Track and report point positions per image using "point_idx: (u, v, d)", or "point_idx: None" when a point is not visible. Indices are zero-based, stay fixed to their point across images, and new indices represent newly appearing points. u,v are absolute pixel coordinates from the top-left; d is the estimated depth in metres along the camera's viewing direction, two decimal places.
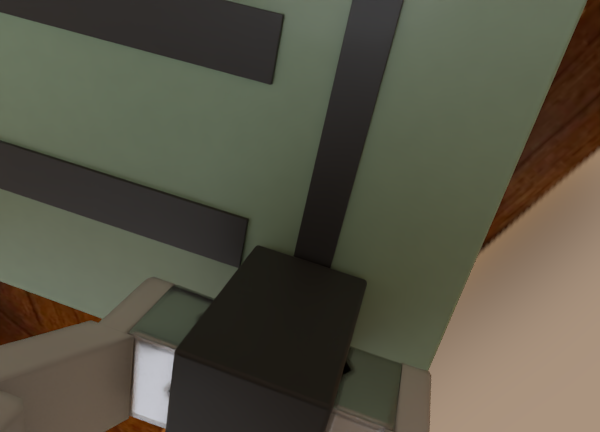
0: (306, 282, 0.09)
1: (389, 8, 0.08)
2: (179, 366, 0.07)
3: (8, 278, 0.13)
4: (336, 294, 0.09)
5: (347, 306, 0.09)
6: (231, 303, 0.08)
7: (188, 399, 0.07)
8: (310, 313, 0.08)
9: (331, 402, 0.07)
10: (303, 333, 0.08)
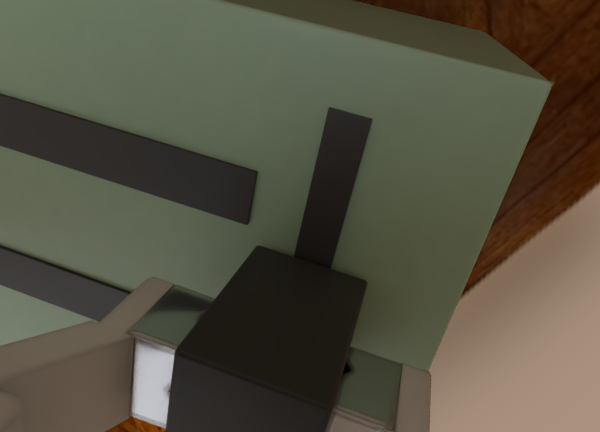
0: (306, 282, 0.09)
1: (346, 176, 0.09)
2: (179, 366, 0.07)
3: None
4: (336, 295, 0.09)
5: (347, 306, 0.09)
6: (231, 303, 0.08)
7: (188, 399, 0.07)
8: (310, 313, 0.08)
9: (331, 403, 0.07)
10: (303, 333, 0.08)
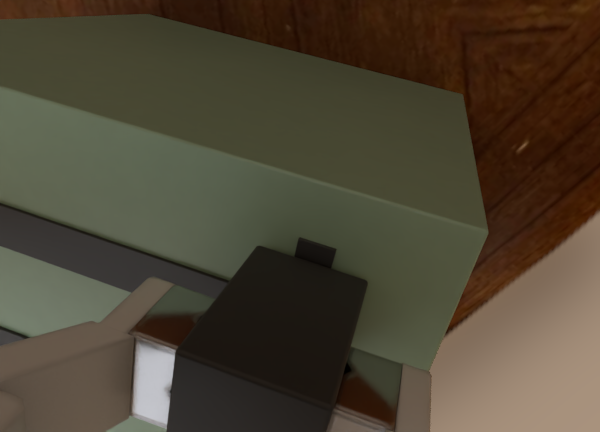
0: (307, 282, 0.09)
1: None
2: (180, 366, 0.07)
3: None
4: (337, 295, 0.09)
5: (348, 306, 0.09)
6: (232, 303, 0.08)
7: (189, 399, 0.07)
8: (311, 313, 0.08)
9: (332, 402, 0.07)
10: (303, 333, 0.08)
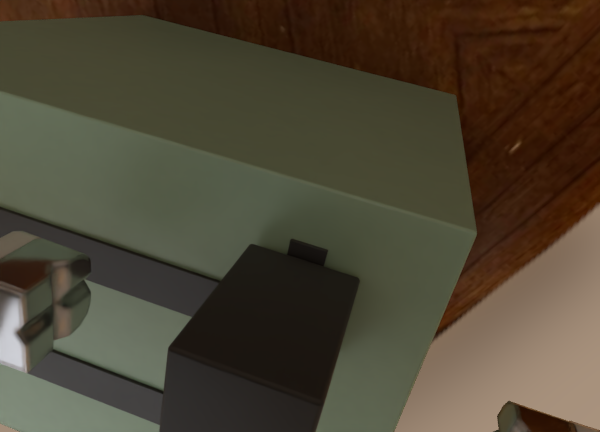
0: (299, 280, 0.09)
1: None
2: (173, 363, 0.07)
3: (16, 426, 0.15)
4: (329, 292, 0.09)
5: (340, 303, 0.09)
6: (224, 301, 0.08)
7: (182, 396, 0.07)
8: (303, 310, 0.08)
9: (323, 398, 0.07)
10: (296, 330, 0.08)
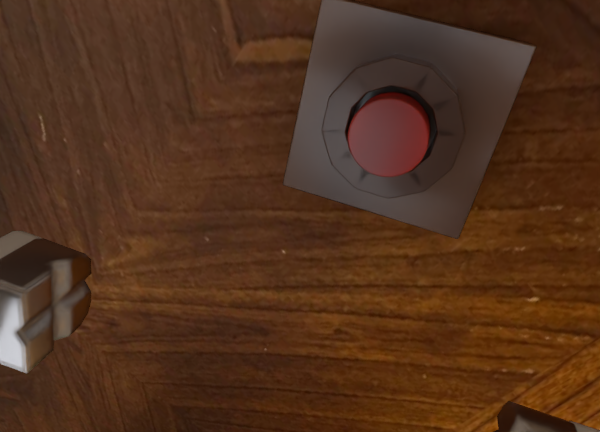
0: None
1: None
2: None
3: None
4: None
5: None
6: None
7: None
8: None
9: None
10: None
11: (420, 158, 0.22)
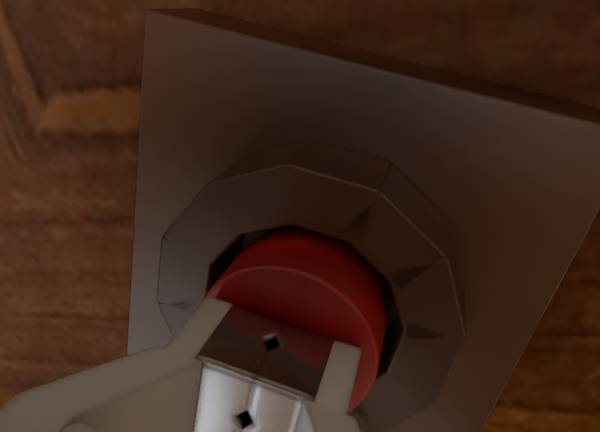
0: None
1: None
2: None
3: None
4: None
5: None
6: None
7: None
8: None
9: None
10: None
11: (360, 396, 0.09)
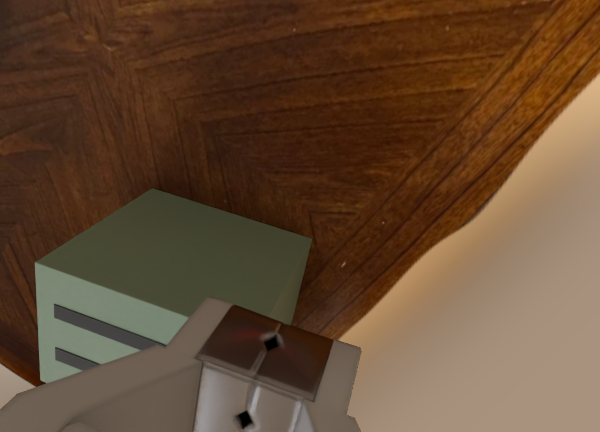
0: None
1: None
2: None
3: None
4: None
5: None
6: None
7: None
8: None
9: None
10: None
11: None
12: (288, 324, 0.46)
